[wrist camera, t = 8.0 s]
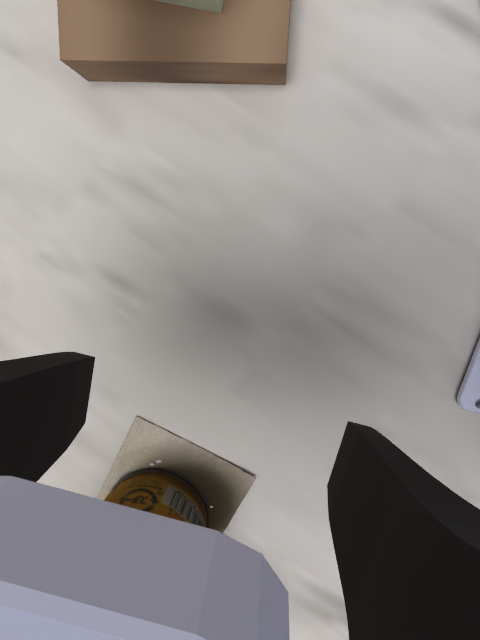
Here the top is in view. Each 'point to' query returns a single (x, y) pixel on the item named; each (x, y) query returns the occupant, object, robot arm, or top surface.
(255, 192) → the top surface
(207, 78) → the walnut block
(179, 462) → the condiment
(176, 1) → the sage cube
